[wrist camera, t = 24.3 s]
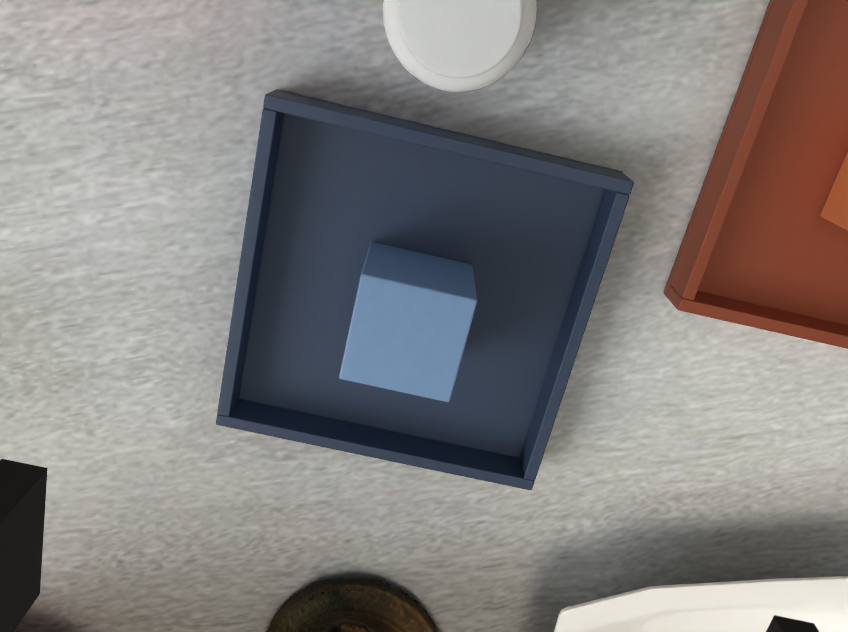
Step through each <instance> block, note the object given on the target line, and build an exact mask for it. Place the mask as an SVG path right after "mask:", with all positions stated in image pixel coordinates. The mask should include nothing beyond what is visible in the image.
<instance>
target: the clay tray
mask: <svg viewBox="0 0 848 632" xmlns="http://www.w3.org/2000/svg"><path fill="white" fill-rule="evenodd" d="M847 152H848V0H771V1H770V3H769V6H768V9H767V12H766V14H765V17H764V20H763V23H762V25H761V28H760V31H759V33H758V36H757V39H756V42H755V44H754V47H753V50H752V53H751V55H750V58H749V61H748V63H747V66H746V69H745V72H744V74H743V77H742V80H741V83H740V85H739V88H738V91H737V94H736V96H735V99H734V102H733V104H732V107H731V110H730V113H729V115H728V118H727V121H726V124H725V126H724V129H723V132H722V135H721V137H720V140H719V143H718V145H717V148H716V151H715V154H714V156H713V159H712V162H711V165H710V167H709V170H708V173H707V175H706V178H705V181H704V184H703V186H702V189H701V192H700V195H699V197H698V200H697V203H696V206H695V208H694V211H693V214H692V216H691V219H690V222H689V225H688V227H687V230H686V233H685V236H684V238H683V241H682V244H681V247H680V249H679V252H678V255H677V257H676V260H675V263H674V266H673V268H672V271H671V274H670V277H669V279H668V282H667V285H666V287H665V290H664V294H665V295H666V296H667V297H668V298H669V300H670V301H671V302H672V303H673V305H674V306H675V307H676V308H677V309H678V310H680V311H685V312H689V313H694V314H698V315H702V316H707V317H711V318H716V319H720V320H724V321H729V322H733V323H738V324H742V325H746V326H751V327H755V328H760V329H764V330H768V331H773V332H777V333H782V334H786V335H790V336H795V337H799V338H804V339H808V340H812V341H817V342H821V343H825V344H830V345H834V346H839V347H843V348H847V349H848V231H847V230H845V229H844V228H842V227H840V226H838V225H836V224H834V223H832V222H830V221H828V220H826V219H824V218H822V217H821V216H820V214H821V212H822V210H823V207H824V205H825V203H826V200H827V198H828V196H829V193H830V191H831V189H832V186H833V184H834V182H835V180H836V177H837V175H838V173H839V170H840V168H841V166H842V163H843V161H844V159H845V156H846V154H847Z"/></svg>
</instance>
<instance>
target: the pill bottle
mask: <svg viewBox="0 0 848 632" xmlns="http://www.w3.org/2000/svg"><path fill="white" fill-rule="evenodd" d="M536 14H537V3H536V0H384V2H383V20H384V26H385V31H386V35H387V38H388V41H389V43H390V46H391V48H392V50H393V52H394V53H395V55H396V57H397V58H398V60H399V61H400V62H401V64H402V65H403V66H404V67H405V68H406V69H407V71H409V72H410V73H411V74H412V75H413V76H414V77H416V78H417V79H419V80H420V81H422V82H424V83H425V84H427V85H429V86H432V87H434V88H437V89H440V90H445V91H451V92H467V91H473V90H477V89H481V88H484V87H486V86H489V85H491V84H493V83H494V82H496V81H498V80H499V79H501V78H502V77H503V76H505V75H506V74H507V73H508V72H509V71H510V70H511V69H512V68H513V67H514V66H515V65H516V64H517V63H518V61H519V60H520V59H521V58H522V56H523V54H524V53H525V51H526V49H527V47H528V45H529V43H530V41H531V38H532V35H533V32H534V27H535V22H536Z"/></svg>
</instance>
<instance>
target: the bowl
mask: <svg viewBox="0 0 848 632" xmlns="http://www.w3.org/2000/svg"><path fill="white" fill-rule="evenodd" d="M774 615H776V616H781V617H786V618H790V619H795V620H800V621H805V622H810V623H814V624H815V626H816V627H817V629H818V631H819V632H848V576H838V577H812V578H786V579H763V580H747V581H730V582H714V583H697V584H681V585H665V586H650V587H646V588H642V589H638V590H634V591H630V592H626V593H622V594H618V595H614V596H610V597H606V598H602V599H598V600H594V601H590V602H586V603H582V604H578V605H574V606H570V607H566V608H564V609H562V610H561V611H560V613H559V616H558V619H557V622H556V626H555V629H554V632H766V631H767V629H768V627H769V625H770V623H771V621H772V619H773V617H774Z"/></svg>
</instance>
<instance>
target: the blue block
mask: <svg viewBox="0 0 848 632" xmlns="http://www.w3.org/2000/svg"><path fill="white" fill-rule="evenodd" d="M476 304H477V295H476V288H475V280H474V273H473V265H471V264H467V263H463V262H458V261H454V260H449V259H445V258H441V257H436V256H432V255H428V254H423V253H419V252H415V251H410V250H406V249H402V248H397V247H393V246H388V245H384V244H380V243H375V242H371V243H370V247H369V250H368V253H367V256H366V260H365V263H364V266H363V270H362V273H361V276H360V281H359V286H358V291H357V295H356V300H355V305H354V309H353V314H352V319H351V323H350V328H349V333H348V337H347V342H346V347H345V351H344V356H343V361H342V365H341V370H340V375H339V378H340V379H343V380H348V381H352V382H357V383H361V384H366V385H371V386H375V387H380V388H385V389H389V390H394V391H398V392H403V393H408V394H412V395H417V396H421V397H426V398H431V399H435V400H440V401H444V402H449V401H450V399H451V395H452V392H453V388H454V384H455V381H456V377H457V373H458V370H459V366H460V362H461V359H462V355H463V352H464V348H465V344H466V341H467V337H468V333H469V330H470V326H471V323H472V319H473V315H474V312H475V308H476Z"/></svg>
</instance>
